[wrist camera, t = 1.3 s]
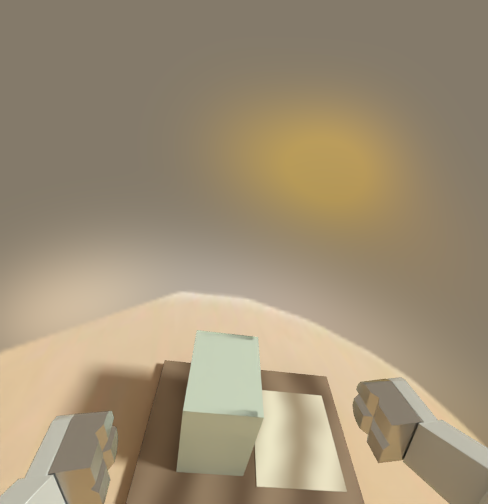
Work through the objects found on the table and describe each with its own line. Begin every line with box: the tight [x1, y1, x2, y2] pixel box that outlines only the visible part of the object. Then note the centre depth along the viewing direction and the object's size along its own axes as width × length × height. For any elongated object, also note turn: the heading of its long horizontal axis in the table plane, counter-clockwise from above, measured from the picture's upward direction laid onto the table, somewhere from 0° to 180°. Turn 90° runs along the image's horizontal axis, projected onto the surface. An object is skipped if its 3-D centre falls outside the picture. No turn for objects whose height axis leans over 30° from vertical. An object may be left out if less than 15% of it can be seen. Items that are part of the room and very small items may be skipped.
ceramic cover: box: [176, 330, 264, 476], centre depth 28 cm, size 6×8×10 cm
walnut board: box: [126, 360, 364, 504], centre depth 31 cm, size 22×16×1 cm
